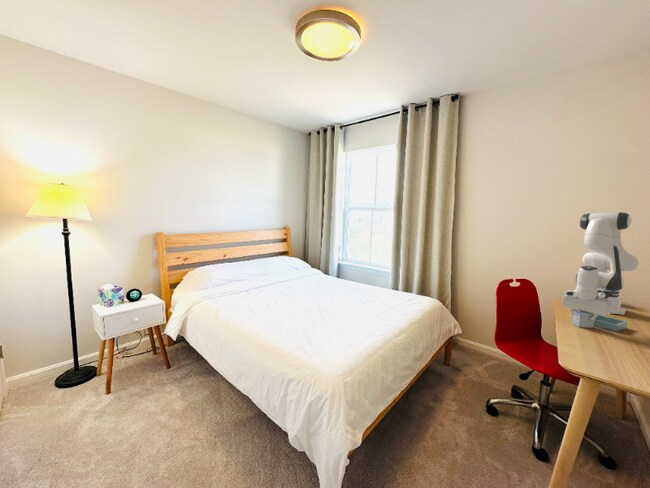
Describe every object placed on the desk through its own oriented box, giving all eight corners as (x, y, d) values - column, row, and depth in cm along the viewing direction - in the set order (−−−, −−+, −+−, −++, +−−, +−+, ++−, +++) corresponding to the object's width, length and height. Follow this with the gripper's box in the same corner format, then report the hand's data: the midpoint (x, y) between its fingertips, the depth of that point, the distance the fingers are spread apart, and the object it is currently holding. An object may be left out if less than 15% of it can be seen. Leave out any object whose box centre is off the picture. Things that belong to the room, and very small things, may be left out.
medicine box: (586, 325, 153) (588, 310, 152) (593, 328, 148) (595, 313, 148) (572, 324, 153) (573, 309, 153) (578, 327, 149) (580, 312, 148)
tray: (588, 318, 163) (589, 312, 163) (626, 328, 149) (627, 321, 149) (578, 322, 157) (579, 315, 157) (616, 332, 143) (617, 325, 143)
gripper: (614, 299, 142) (611, 324, 143) (566, 290, 160) (564, 312, 161) (609, 300, 139) (606, 325, 140) (561, 291, 157) (559, 313, 158)
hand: (583, 318), depth 150 cm, fingers closed on medicine box, 6 cm apart
